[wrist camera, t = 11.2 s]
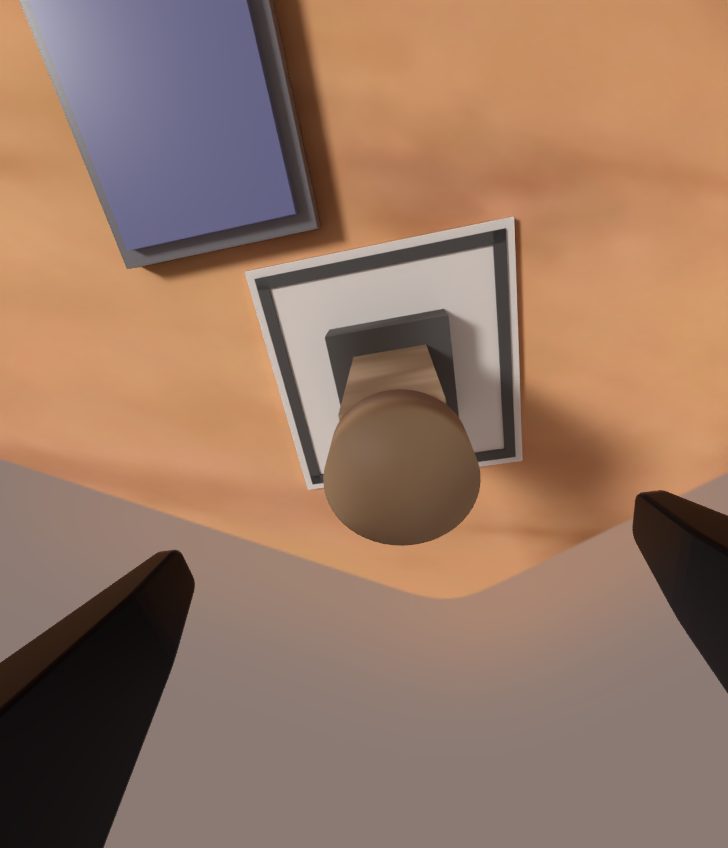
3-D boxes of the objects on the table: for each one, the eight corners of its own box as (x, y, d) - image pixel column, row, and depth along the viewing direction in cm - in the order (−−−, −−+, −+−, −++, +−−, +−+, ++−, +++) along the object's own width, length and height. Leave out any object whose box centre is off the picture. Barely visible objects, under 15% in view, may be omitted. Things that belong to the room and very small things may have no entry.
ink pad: (236, -175, 12) (217, -226, 11) (321, 228, 17) (315, 227, 15) (0, -94, 13) (-44, -131, 12) (140, 267, 18) (119, 269, 16)
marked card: (511, 216, 16) (514, 216, 16) (520, 458, 21) (523, 462, 20) (246, 271, 18) (243, 271, 17) (308, 486, 22) (307, 490, 22)
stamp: (443, 308, 17) (494, 376, 9) (455, 415, 20) (505, 548, 11) (329, 329, 18) (281, 410, 10) (351, 430, 20) (328, 568, 12)
